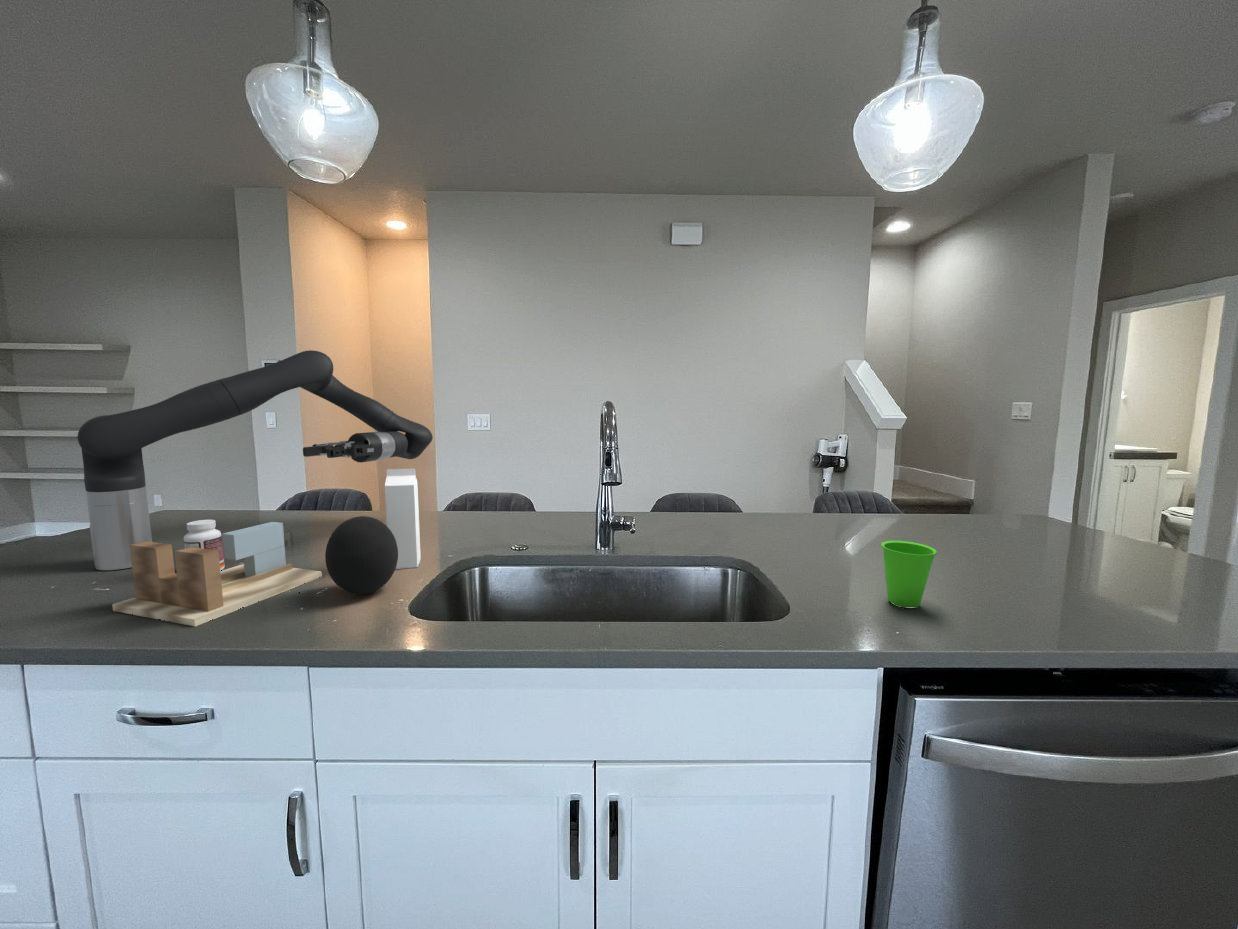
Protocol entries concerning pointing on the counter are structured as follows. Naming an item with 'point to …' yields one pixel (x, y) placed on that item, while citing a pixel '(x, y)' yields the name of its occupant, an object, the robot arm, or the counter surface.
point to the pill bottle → (205, 537)
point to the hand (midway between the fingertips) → (316, 452)
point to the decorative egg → (361, 555)
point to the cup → (906, 571)
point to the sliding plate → (256, 547)
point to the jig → (198, 584)
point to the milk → (403, 515)
